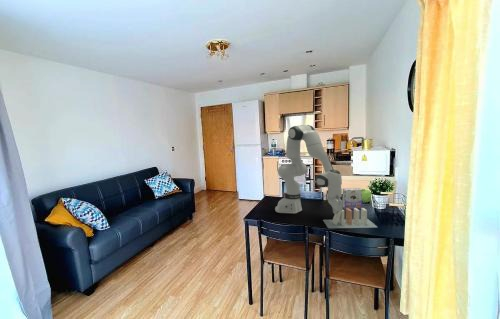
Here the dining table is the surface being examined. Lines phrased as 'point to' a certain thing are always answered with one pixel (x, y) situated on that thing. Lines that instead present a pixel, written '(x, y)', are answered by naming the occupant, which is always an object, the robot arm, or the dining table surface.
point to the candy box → (352, 198)
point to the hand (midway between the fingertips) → (334, 213)
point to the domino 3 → (348, 216)
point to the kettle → (366, 196)
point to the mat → (346, 225)
